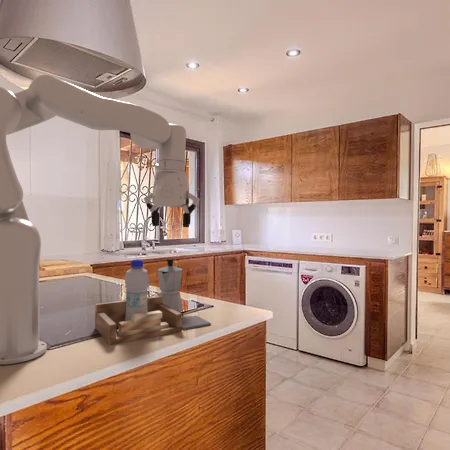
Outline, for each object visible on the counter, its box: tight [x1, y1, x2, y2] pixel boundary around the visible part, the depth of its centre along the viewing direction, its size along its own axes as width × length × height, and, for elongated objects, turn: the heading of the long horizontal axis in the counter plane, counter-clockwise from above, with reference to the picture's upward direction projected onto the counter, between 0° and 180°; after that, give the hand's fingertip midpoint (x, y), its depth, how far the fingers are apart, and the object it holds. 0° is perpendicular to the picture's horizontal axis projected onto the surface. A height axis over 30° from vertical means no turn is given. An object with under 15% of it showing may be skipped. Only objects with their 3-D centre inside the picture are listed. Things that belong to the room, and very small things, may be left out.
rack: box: [94, 295, 183, 346], centre depth 101 cm, size 20×15×7 cm
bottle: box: [124, 258, 150, 321], centre depth 101 cm, size 7×7×20 cm
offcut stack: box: [116, 311, 169, 337], centre depth 97 cm, size 14×2×6 cm, turn 123°
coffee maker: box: [157, 258, 184, 313], centre depth 120 cm, size 15×9×18 cm, turn 167°
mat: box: [182, 315, 212, 331], centre depth 107 cm, size 9×9×1 cm
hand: (170, 226), depth 104 cm, fingers open, 9 cm apart
